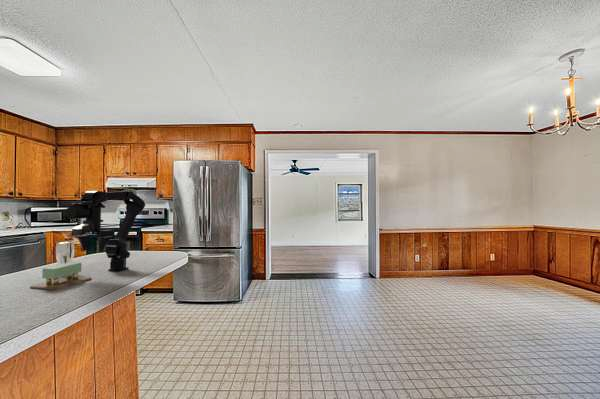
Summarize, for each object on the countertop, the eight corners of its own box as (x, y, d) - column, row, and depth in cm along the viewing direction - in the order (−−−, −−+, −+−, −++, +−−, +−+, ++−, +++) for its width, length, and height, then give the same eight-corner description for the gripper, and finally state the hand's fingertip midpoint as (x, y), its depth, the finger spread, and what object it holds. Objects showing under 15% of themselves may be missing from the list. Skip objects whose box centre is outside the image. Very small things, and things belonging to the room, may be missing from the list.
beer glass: (77, 271, 138) (78, 241, 138) (64, 275, 131) (65, 243, 131) (65, 271, 139) (65, 241, 139) (51, 274, 132) (51, 243, 132)
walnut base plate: (70, 277, 128) (70, 269, 128) (91, 279, 125) (91, 271, 125) (30, 288, 112) (30, 278, 112) (53, 290, 110) (53, 281, 110)
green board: (70, 270, 125) (70, 262, 125) (81, 271, 124) (81, 262, 124) (42, 278, 113) (42, 268, 113) (54, 278, 112) (54, 269, 112)
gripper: (59, 218, 123) (58, 253, 123) (93, 219, 119) (92, 255, 119) (83, 216, 134) (83, 249, 134) (115, 217, 130) (115, 251, 130)
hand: (92, 251), depth 129 cm, fingers open, 9 cm apart
